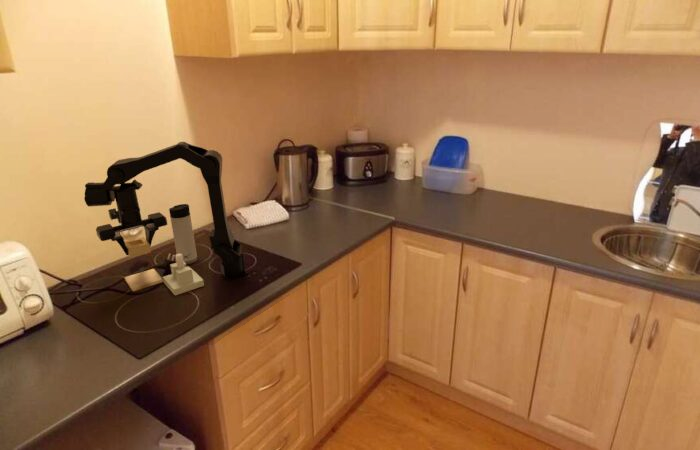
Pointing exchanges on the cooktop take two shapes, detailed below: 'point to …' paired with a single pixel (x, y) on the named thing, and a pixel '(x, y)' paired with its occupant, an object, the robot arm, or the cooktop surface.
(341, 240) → the cooktop surface
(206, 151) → the robot arm
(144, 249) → the collar
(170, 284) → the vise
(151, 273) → the pad
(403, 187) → the cooktop surface
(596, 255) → the cooktop surface
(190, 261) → the travel mug
